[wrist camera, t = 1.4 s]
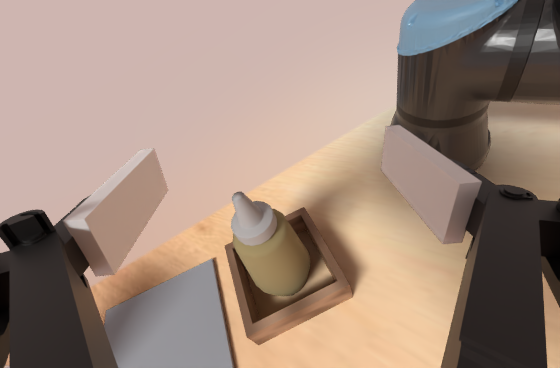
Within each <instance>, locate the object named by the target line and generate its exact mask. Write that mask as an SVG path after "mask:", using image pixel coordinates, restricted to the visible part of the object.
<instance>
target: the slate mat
mask: <svg viewBox="0 0 560 368" xmlns="http://www.w3.org/2000/svg"><path fill="white" fill-rule="evenodd" d="M104 328H105V331H106V334H107V337H108V340H109V343H110V345H111V348H112V351H113V354H114V357H115V360H116V363H117V365H118V368H235V367H234V362H233V357H232V352H231V347H230V342H229V337H228V332H227V327H226V321H225V316H224V311H223V306H222V301H221V296H220V291H219V286H218V281H217V276H216V271H215V265H214V260H213V259H210V260H208V261H206V262H204V263H202V264H200V265H198V266H196V267H194V268H192V269H190V270H188V271H186V272H184V273H182V274H180V275H178V276H175V277H173V278H171V279H169V280H167V281H165V282H163V283H161V284H159V285H157V286H155V287H153V288H151V289H149V290H147V291H145V292H143V293H141V294H139V295H137V296H135V297H133V298H131V299H129V300H127V301H125V302H123V303H120V304H118V305H116V306H114V307H112V308H110V309H108V310H106V316H105V324H104Z"/></svg>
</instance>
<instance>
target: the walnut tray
mask: <svg viewBox="0 0 560 368" xmlns="http://www.w3.org/2000/svg"><path fill="white" fill-rule="evenodd" d="M285 218H286V220H287V221H288V222H289V224H290V225H291V227H292V228H293V230H294V231H295V233H296V234H298V233H300V232H302V231H304V230H306V229H307V231H308V233H309V235H310V237H311V238H312V240H313V242H314V244H315V246H316V248H317V249H318V251H319V253H320V255H321V257H322V258H323V260H324V262H325V264H326V266H327V268H328V269H329V271H330V273H331V275H332V277H333V278H334V280H335V283H333V284H331V285H329V286H327V287H325V288H323V289H321V290H319V291H317V292H315V293H313V294H311V295H309V296H307V297H305V298H303V299H301V300H299V301H297V302H295V303H293V304H291V305H289V306H287V307H285V308H283V309H281V310H279V311H277V312H275V313H273V314H271V315H270V316H268V317H266V318H264V319H262V320H260V319H259V315H258V312H257V308H256V305H255V302H254V298H253V295H252V291H251V288H250V284H249V281H248V277H247V274H246V270H245V267H244V264H243V262H242V260H241V259H240V257H239V255H238V253H237V252H236V249H235V247H234V245H233V242H231V243H229V244H227V245H225V250H226V254H227V258H228V262H229V266H230V270H231V274H232V278H233V283H234V287H235V291H236V295H237V299H238V303H239V307H240V311H241V315H242V320H243V324H244V328H245V332H246V336H247V338H249V339H250V340H252V341H253V342H255V343H256V344H258V345H260V344H262V343H264V342H266V341H268V340H270V339H272V338H274V337H276V336H278V335H279V334H281V333H283V332H285V331H287V330H289V329H291V328H293V327H295V326H297V325H299V324H301V323H303V322H305V321H307V320H309V319H311V318H313V317H315V316H317V315H319V314H320V313H322V312H324V311H326V310H328V309H330V308H332V307H334V306H336V305H338V304H340V303H342V302H344V301H346V300H348V299H350V298H352V297H353V296H352V292H351V288H350V284H349V282H348V281H347V279H346V277H345V276H344V274H343V272H342V271H341V269H340V267H339V265H338V264H337V262H336V260H335V259H334V257H333V255H332V253H331V252H330V250H329V248H328V247H327V245H326V243H325V242H324V240H323V238H322V236H321V235H320V233H319V231H318V230H317V228H316V226H315V225H314V223H313V221H312V219H311V218H310V216H309V214H308V213H307V211H306V209H305V208H304V207H303V208H301V209H299V210H297V211H295V212H293V213H291V214H289V215H287V216H285Z"/></svg>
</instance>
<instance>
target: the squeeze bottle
mask: <svg viewBox="0 0 560 368" xmlns="http://www.w3.org/2000/svg"><path fill="white" fill-rule="evenodd" d="M232 201H233V204H234V207H235V211H236V213H235V214H234V216H233V218H232V221H231V228H232V231H233V245H234V247H235V249H236V252H237V253H238V255H239V257H240V259H241V260H242V262H243V264H244V265H245V267H246V269H247V271H248V272H249V274H250V276H251V277H252V279H253V281H254V283H255V284H256V286H257V287H259V288H260V289H261V290H262V291H263V292H264V293H268V294H272V295H276V296H289V295H294V294H295V293H297V292H298V291H300V290H301V289H302V287H303V286H304V284H305V283H306V280H307V276H308V272H309V268H310V264H311V263H310V257H309V252H308V251H307V249H306V248H305V246H304V245H303V243H302V242H301V240H300V239H299V237H298V236H297V234H296V233H295V231H294V230H293V228H292V227H291V225H290V224H289V222H288V221H287V220H286V218H285V217H284V215H283V214H282V213H281V212H279V211H277V210H275V209H271V207H270V205H268V204H266V203H265V202H261V201H254V202H252V201H251V200H250V199H249V198H248V197H247V196H246V195H245V194H244V193H242V192H237V193H235V194H234V195H233V196H232Z"/></svg>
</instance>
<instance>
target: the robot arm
mask: <svg viewBox="0 0 560 368" xmlns="http://www.w3.org/2000/svg"><path fill="white" fill-rule="evenodd" d="M397 51H398V79H397V110H396V112H395V114H394V117H393V119H392V122H391V125H390V126H386V129H385V138H384V146H383V155H382V164H381V171H382V172H383V173H384V174H385V176H386V177H387V178H388V179H389V180H390V182H391V183H392V184H393V185H394V186H395V188H396V189H397V190H398V191H399V192H400V193H401V195H402V196H403V197H404V198H405V199H406V201H407V202H408V203H409V204H410V205H411V207H412V208H413V209H414V210H415V211H416V213H417V214H418V215H419V216H420V217H421V219H422V220H423V221H424V222H425V223H426V225H427V226H428V227H429V228H430V229H431V231H432V232H433V233H434V234H435V235H436V237H437V238H438V239H439V240H440V241H441V243H442V244H448V243H459V242H462V241H463V238H464V235H465V232H466V230H467V231H468V232H469V233H470V234H471V235H472V236H473V238H472V241H471V244H470V247H469V250H468V253H467V255H466V258H465V259H467V261H466V265H465V269H464V273H463V277H462V282H461V286H460V290H459V294H458V298H457V302H456V307H455V311H454V315H453V319H452V323H451V327H450V332H449V336H448V340H447V344H446V348H445V352H444V357H443V361H442V365H441V368H547V354H546V336H545V319H544V301H543V283H542V272H543V274H544V276H545V278H546V280H547V282H548V284H549V286H550V288H551V291H552V293H553V295H554V297H555V299H556V301H557V303H558V305H559V307H560V199H559V201H546V200H538V199H537V197H536V195H534V194H533V193H531V192H530V191H527V190H525V189H523V188H519V187H515V186H510V185H495V184H493V183H492V182H490V181H489V180H487V179H486V178H484V177H483V176H481V175H480V174H477V172H475V171H474V170H476V169H477V168H478V167H480V166H481V164H482V163H483V162H484V160H485V159H486V156H487V153H488V151H489V148H490V144H491V137H490V132H489V130H488V117H487V108H488V105H489V102H490V101H502V102H521V103H539V104H557V105H560V0H415V1H414V2H413V3H412V4H411V5H410V6H409V7H408V9H407V10H406V11H405V13H404V15H403V17H402V20H401V27H400V38H399V44H398V46H397ZM167 191H168V188H167V185H166V182H165V179H164V176H163V173H162V170H161V167H160V164H159V161H158V158H157V155H156V152H155V149H154V148H152V149H142V150H140V151H139V152H138V153H137V154H135V155H134V156H133V157H132V158H131V159H130V160H129V161H128V162H127V163H126V164H124V165H123V166H122V167H121V168H120V169H119V170H118V171H117V172H116V173H115V174H114V175H112V176H111V177H110V178H109V179H108V180H107V181H106V182H105V183H104V184H103V185H101V186H100V187H99V188H98V189H97V190H96V191H95V192H94V193H93V194H92V195H90V196H89V197H87V198H85V199H83V200H82V201H81V202H80V203H79V204H78V205H77V206H76V207H75V208H74V209H72V210H71V211H70V213H68V214H67V215H66V216H65V217H63V218H62V219H61V220H60V221H59V222H58V223H57V224H56V225H55V226H53V225H52V223H51V222H50V220H49V218H48V217H47V215H46V214H45V212H44V211H43V210H30V211H26V212H23V213H20V214H18V215H15V216H12V217H10V218H9V219H7V220H5V221H3V222H2V223H1V224H0V237H1V239H2V240H3V241H4V243H6V245H7V246H8V248H9V249H10V251H7V252H3V253H0V368H4V367H5V364H6V361H7V358H8V355H9V352H10V368H118V365H117V363H116V360H115V357H114V354H113V351H112V348H111V345H110V343H109V340H108V337H107V334H106V331H105V328H104V326H103V323H102V320H101V317H100V314H99V311H98V309H97V306H96V303H95V300H94V297H93V294H92V292H91V289H90V286H89V283H88V280H87V278H86V277H85V275H84V274H83V273H84V272H85V270H86V269H87V268H88V266H90V268H91V269H92V271H93V272H94V274H95V276H104V275H115V273H116V272H117V270H118V269H119V267H120V266H121V264H122V262H123V261H124V259H125V258H126V256H127V254H128V253H129V251H130V250H131V248H132V247H133V245H134V243H135V242H136V240H137V239H138V237H139V236H140V234H141V232H142V231H143V229H144V228H145V226H146V224H147V223H148V221H149V220H150V218H151V217H152V215H153V213H154V212H155V210H156V209H157V207H158V205H159V204H160V202H161V201H162V199H163V198H164V196H165V194H166V193H167Z"/></svg>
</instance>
